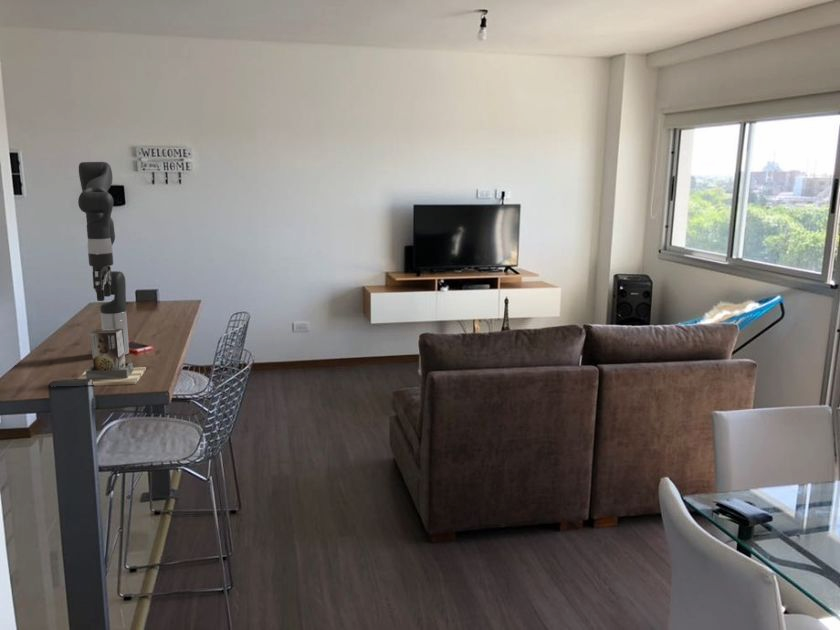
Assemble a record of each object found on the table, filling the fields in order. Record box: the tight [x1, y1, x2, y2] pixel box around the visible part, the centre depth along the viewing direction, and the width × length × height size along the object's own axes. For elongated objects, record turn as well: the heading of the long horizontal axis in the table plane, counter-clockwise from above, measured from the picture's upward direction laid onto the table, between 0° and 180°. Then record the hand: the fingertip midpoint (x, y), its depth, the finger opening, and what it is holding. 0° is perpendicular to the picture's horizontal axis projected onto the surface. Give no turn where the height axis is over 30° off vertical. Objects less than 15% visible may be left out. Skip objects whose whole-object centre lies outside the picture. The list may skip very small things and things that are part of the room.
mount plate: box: [77, 362, 147, 387], centre depth 236 cm, size 18×20×4 cm
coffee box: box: [89, 328, 127, 370], centre depth 235 cm, size 9×6×16 cm
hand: (104, 298), depth 231 cm, fingers open, 8 cm apart
